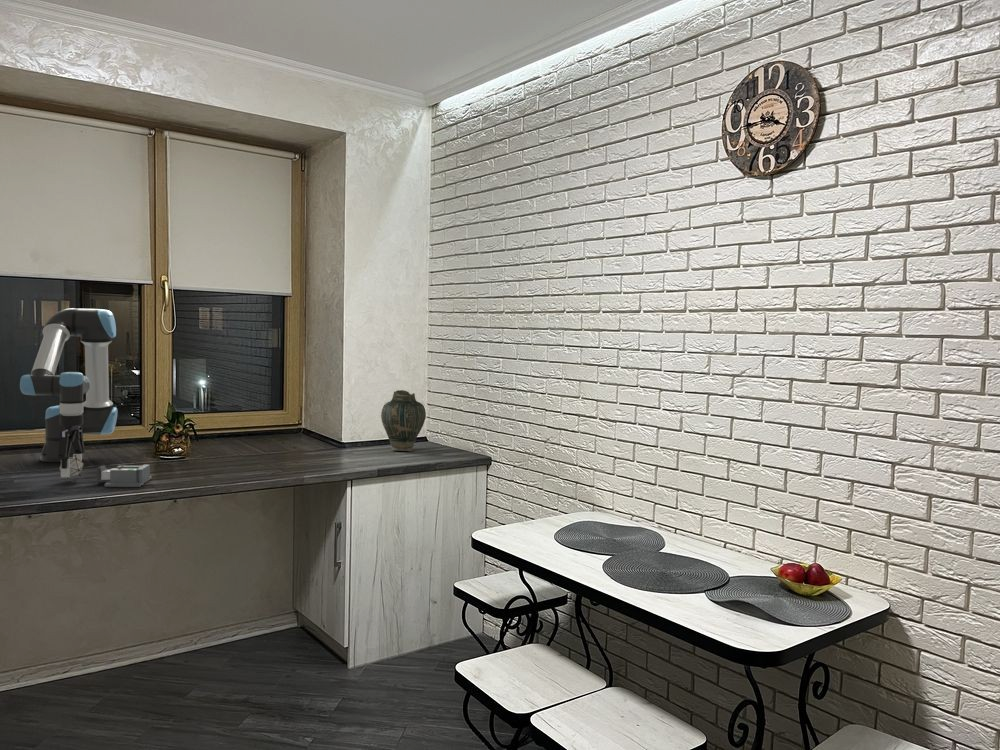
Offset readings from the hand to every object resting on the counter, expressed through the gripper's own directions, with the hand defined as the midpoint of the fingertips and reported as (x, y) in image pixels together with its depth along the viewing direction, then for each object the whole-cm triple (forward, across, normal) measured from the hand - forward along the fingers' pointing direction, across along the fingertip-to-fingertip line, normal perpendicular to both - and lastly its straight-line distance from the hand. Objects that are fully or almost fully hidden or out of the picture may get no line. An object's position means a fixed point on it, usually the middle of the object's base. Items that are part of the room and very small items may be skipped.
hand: (71, 474), depth 267 cm
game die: (+1, 0, 0) cm, 1 cm away
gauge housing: (+3, 0, +20) cm, 20 cm away
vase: (+3, -76, +124) cm, 145 cm away
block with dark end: (+2, +1, +14) cm, 14 cm away
